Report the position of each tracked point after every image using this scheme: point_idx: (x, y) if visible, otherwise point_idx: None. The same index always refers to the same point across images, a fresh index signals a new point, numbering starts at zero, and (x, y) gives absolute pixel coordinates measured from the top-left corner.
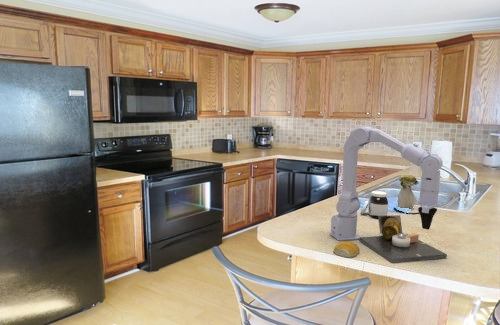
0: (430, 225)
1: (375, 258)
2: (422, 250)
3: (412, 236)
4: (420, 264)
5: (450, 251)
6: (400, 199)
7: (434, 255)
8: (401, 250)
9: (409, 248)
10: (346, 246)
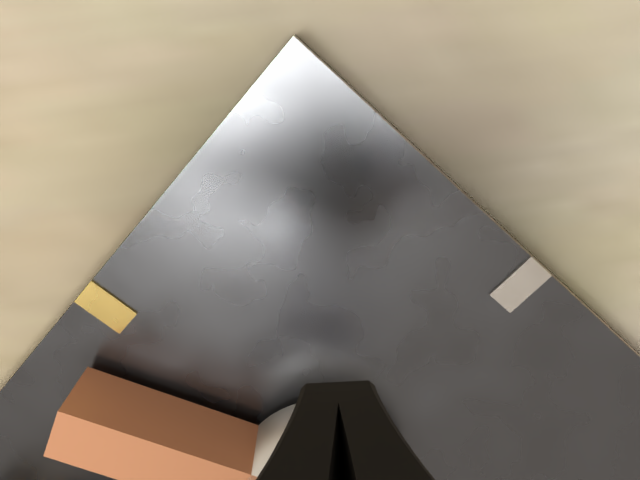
0: (362, 414)
1: None
2: (342, 278)
3: (179, 449)
4: (618, 225)
5: (20, 27)
6: None
7: (416, 150)
8: (468, 428)
9: None
10: None
